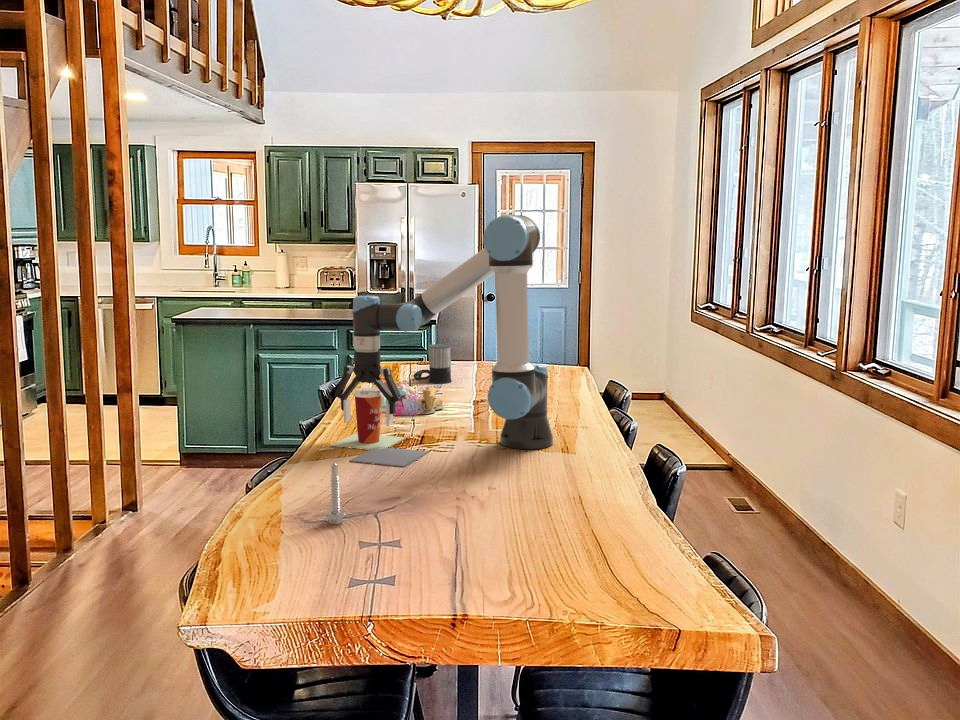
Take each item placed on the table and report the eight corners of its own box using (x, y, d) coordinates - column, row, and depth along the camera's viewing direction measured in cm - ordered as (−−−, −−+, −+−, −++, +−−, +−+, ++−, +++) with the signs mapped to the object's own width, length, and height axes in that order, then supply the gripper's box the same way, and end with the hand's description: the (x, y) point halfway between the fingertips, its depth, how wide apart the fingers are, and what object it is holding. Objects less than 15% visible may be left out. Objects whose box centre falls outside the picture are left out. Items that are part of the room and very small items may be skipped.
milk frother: (450, 384, 356) (450, 346, 354) (411, 383, 356) (410, 346, 354) (452, 378, 370) (452, 342, 368) (414, 377, 370) (414, 342, 368)
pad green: (405, 438, 264) (405, 437, 264) (381, 451, 250) (381, 449, 249) (356, 434, 270) (356, 433, 270) (330, 446, 255) (330, 445, 255)
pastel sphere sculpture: (447, 403, 318) (447, 378, 317) (439, 417, 295) (439, 390, 294) (377, 402, 320) (377, 376, 319) (363, 416, 297) (363, 388, 296)
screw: (319, 523, 189) (336, 517, 193) (334, 528, 186) (352, 522, 190) (317, 463, 187) (335, 458, 191) (333, 467, 184) (351, 462, 188)
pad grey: (428, 452, 248) (428, 451, 248) (404, 467, 233) (404, 465, 233) (376, 447, 253) (376, 446, 253) (349, 461, 238) (349, 460, 238)
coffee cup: (378, 445, 255) (377, 393, 252) (350, 443, 256) (349, 392, 254) (386, 438, 263) (386, 387, 261) (360, 437, 264) (359, 386, 262)
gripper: (321, 349, 256) (323, 422, 260) (401, 354, 248) (402, 429, 251) (334, 346, 263) (336, 417, 267) (412, 350, 255) (413, 423, 258)
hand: (368, 423), depth 259 cm, fingers open, 13 cm apart
